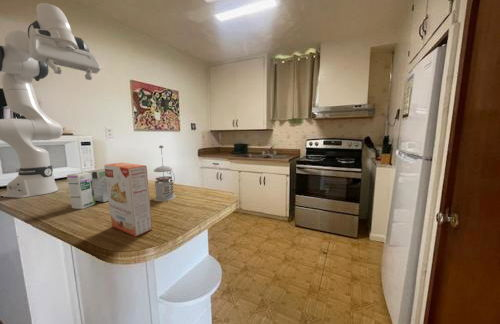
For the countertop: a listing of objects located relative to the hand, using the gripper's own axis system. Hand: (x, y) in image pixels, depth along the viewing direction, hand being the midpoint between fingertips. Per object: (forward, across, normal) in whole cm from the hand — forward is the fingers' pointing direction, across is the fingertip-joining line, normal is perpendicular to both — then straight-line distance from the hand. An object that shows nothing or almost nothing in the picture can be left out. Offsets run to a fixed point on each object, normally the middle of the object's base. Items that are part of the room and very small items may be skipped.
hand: (74, 76), depth 76 cm
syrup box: (+44, -1, -30) cm, 53 cm away
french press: (+53, -25, -10) cm, 60 cm away
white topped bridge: (+42, -13, -32) cm, 54 cm away
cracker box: (+61, +3, +5) cm, 61 cm away
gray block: (+42, -8, -31) cm, 53 cm away
